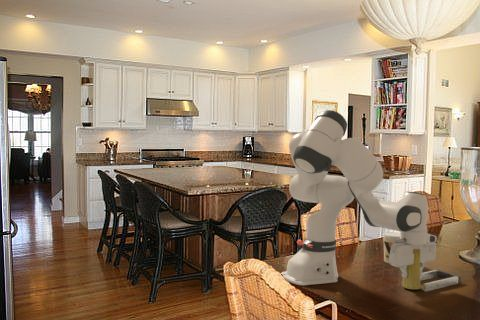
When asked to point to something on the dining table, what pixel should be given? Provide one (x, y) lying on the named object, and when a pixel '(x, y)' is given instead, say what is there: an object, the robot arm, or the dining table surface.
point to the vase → (413, 273)
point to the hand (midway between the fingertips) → (411, 275)
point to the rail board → (446, 280)
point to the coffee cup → (389, 243)
